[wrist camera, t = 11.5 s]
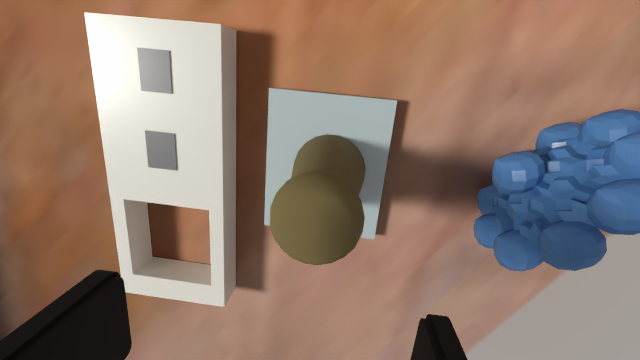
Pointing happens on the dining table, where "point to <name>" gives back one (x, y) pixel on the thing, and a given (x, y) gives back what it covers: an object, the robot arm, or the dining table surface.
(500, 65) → the dining table surface
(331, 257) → the olive rounded piece
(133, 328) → the dining table surface
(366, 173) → the rubber mat
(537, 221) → the grapes
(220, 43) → the white board with cutout
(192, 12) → the dining table surface
